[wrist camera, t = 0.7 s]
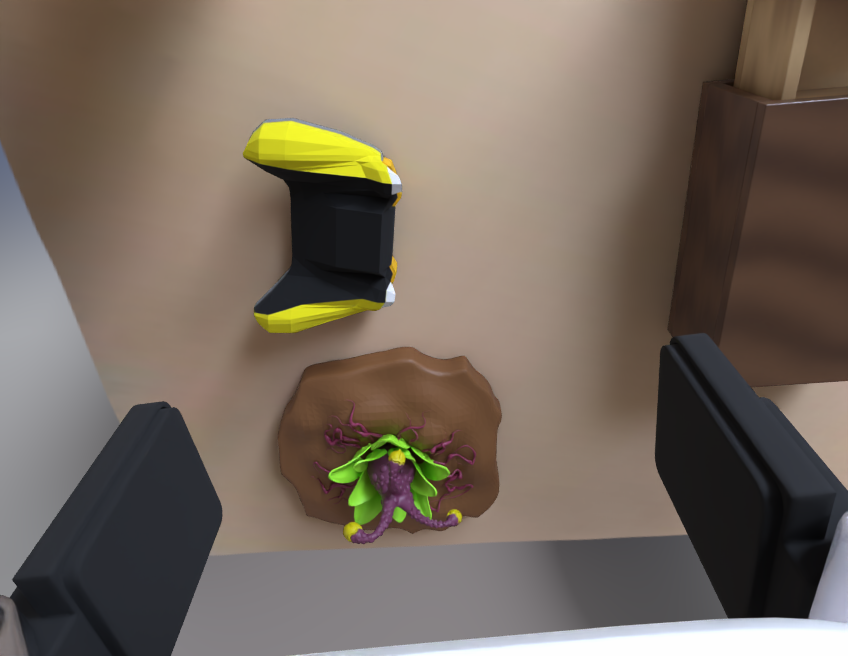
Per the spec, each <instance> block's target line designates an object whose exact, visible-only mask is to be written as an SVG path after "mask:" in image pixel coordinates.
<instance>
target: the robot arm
mask: <svg viewBox="0 0 848 656" xmlns="http://www.w3.org/2000/svg"><path fill="white" fill-rule="evenodd" d="M655 462H656V467H657V470H658V473H659V475H660V478H661V480H662V482H663V484H664V486H665V488H666V490H667V492H668V494H669V496H670V498H671V500H672V502H673V505H674V507H675V509H676V511H677V513H678V515H679V517H680V519H681V521H682V523H683V525H684V527H685V529H686V532H687V534H688V536H689V538H690V540H691V542H692V544H693V546H694V548H695V550H696V552H697V554H698V556H699V558H700V561H701V563H702V565H703V566H704V569H705V571H706V573H707V575H708V577H709V579H710V581H711V583H712V586H713V588H714V590H715V592H716V594H717V596H718V598H719V600H720V602H721V604H722V606H723V608H724V610H725V613H726V615H727V617H728V619H712V620H698V621H684V622H669V623H655V624H641V625H626V626H613V627H603V628H591V629H579V630H569V631H556V632H545V633H534V634H533V633H532V634H521V635H509V636H497V637H487V638H474V639H463V640H452V641H441V642H430V643H419V644H408V645H397V646H387V647H375V648H364V649H354V650H343V651H333V652H321V653H311V654H300V655H290V656H848V490H847V489H846V488H845V487H844V486H843V484H842V483H841V482H840V481H839V480H838V479H837V477H836V476H835V475H834V474H833V473H832V471H831V470H830V469H829V468H828V467H827V465H826V464H825V463H824V462H823V461H822V459H821V458H820V457H819V456H818V455H817V454H816V452H815V451H814V450H813V449H812V448H811V446H810V445H809V444H808V443H807V442H806V440H805V439H804V438H803V437H802V436H801V435H800V433H799V432H798V431H797V430H796V429H795V427H794V426H793V425H792V424H791V423H790V421H789V420H788V419H787V418H786V417H785V415H784V414H783V413H782V412H781V411H780V410H779V408H778V407H777V406H776V405H775V404H774V403H773V402H772V401H771V400H770V399H768V398H765V397H760V398H759V397H758V396H757V394H756V393H755V392H754V391H753V389H752V388H751V387H750V386H749V385H748V383H747V382H746V381H745V380H744V378H743V377H742V376H741V375H740V373H739V372H738V371H737V370H736V369H735V367H734V366H733V365H732V364H731V362H730V361H729V360H728V359H727V358H726V356H725V355H724V354H723V353H722V351H721V350H720V349H719V348H718V347H717V345H716V344H715V343H714V342H713V340H712V339H711V338H710V337H709V336H708V335H707V334H706V333H698V334H691V335H683V336H675V337H673V338H671V341H670V345H665V346H662V348H661V351H660V367H659V386H658V405H657V424H656V443H655ZM221 521H222V506H221V503H220V500H219V498H218V496H217V494H216V491H215V489H214V487H213V485H212V482H211V480H210V478H209V476H208V473H207V471H206V469H205V467H204V464H203V462H202V460H201V458H200V455H199V453H198V451H197V449H196V446H195V444H194V442H193V440H192V437H191V435H190V433H189V431H188V428H187V426H186V424H185V422H184V420H183V417H182V415H181V413H180V411H179V410H178V409H177V408H174V407H173V408H171V406H170V405H169V404H168V403H167V402H164V401H163V402H155V403H147V404H139V405H135V406H133V407H132V408H131V409H130V411H129V412H128V414H127V415H126V416H125V418H124V419H123V421H122V422H121V424H120V425H119V427H118V428H117V429H116V431H115V432H114V434H113V435H112V437H111V438H110V439H109V441H108V442H107V444H106V445H105V447H104V448H103V450H102V451H101V453H100V454H99V455H98V457H97V458H96V460H95V461H94V462H93V464H92V465H91V467H90V468H89V470H88V471H87V473H86V474H85V475H84V477H83V478H82V480H81V481H80V483H79V484H78V486H77V487H76V488H75V490H74V491H73V493H72V494H71V496H70V497H69V499H68V500H67V501H66V503H65V504H64V506H63V507H62V509H61V510H60V512H59V513H58V514H57V516H56V517H55V519H54V520H53V521H52V523H51V524H50V526H49V527H48V529H47V530H46V532H45V533H44V534H43V536H42V537H41V539H40V540H39V542H38V543H37V544H36V546H35V547H34V549H33V550H32V552H31V553H30V555H29V556H28V557H27V559H26V560H25V562H24V563H23V565H22V566H21V568H20V569H19V570H18V572H17V573H16V575H15V576H14V578H13V582H14V583H15V584H16V585H17V588H16V589H15V591H14V592H13V594H12V595H11V597H10V598H8V597H6V596H3V595H0V656H171V653H172V651H173V648H174V646H175V643H176V641H177V638H178V635H179V633H180V630H181V627H182V625H183V622H184V619H185V616H186V614H187V612H188V609H189V606H190V604H191V601H192V598H193V596H194V593H195V590H196V587H197V585H198V582H199V580H200V577H201V575H202V572H203V569H204V567H205V564H206V561H207V559H208V556H209V553H210V551H211V548H212V546H213V543H214V540H215V538H216V535H217V532H218V530H219V527H220V524H221Z"/></svg>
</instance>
